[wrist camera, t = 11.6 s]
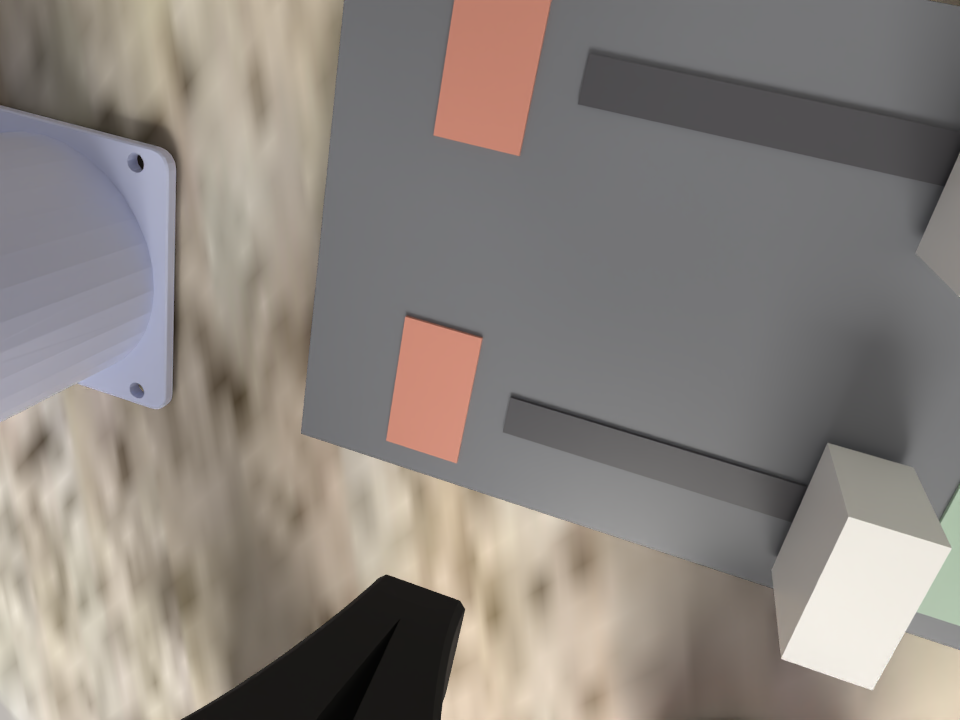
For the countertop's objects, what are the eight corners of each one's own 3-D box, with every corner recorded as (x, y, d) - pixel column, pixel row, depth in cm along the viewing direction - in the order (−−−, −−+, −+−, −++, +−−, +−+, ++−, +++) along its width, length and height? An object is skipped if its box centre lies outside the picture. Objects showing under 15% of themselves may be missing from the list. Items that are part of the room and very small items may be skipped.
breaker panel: (326, 410, 22) (299, 435, 21) (383, -92, 17) (352, -105, 16) (1061, 646, 19) (1089, 695, 17) (1432, 101, 13) (1518, 107, 12)
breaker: (771, 570, 18) (780, 658, 15) (827, 442, 17) (848, 516, 14) (848, 595, 18) (872, 690, 15) (913, 467, 16) (952, 547, 14)
